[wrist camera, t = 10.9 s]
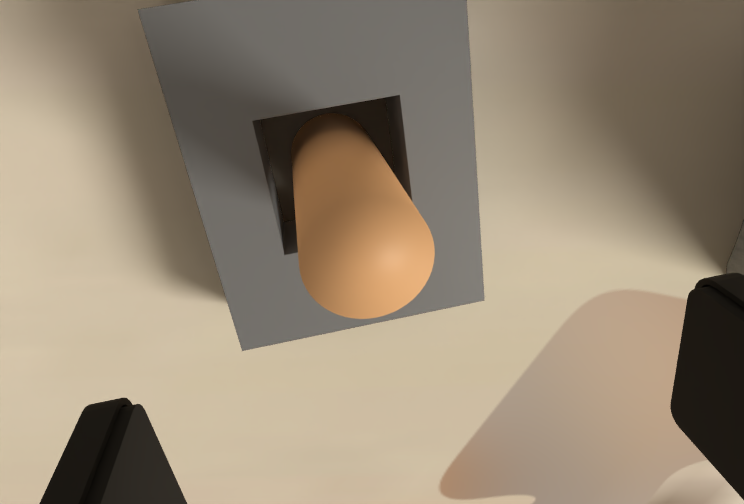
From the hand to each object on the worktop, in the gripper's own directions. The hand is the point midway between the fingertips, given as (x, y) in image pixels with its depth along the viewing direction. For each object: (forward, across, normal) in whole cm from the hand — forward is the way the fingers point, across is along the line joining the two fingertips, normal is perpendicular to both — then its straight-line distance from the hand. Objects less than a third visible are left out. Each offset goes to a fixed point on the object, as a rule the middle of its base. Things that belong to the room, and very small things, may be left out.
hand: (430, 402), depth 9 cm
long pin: (+19, 0, +1) cm, 19 cm away
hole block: (+19, 0, +1) cm, 19 cm away
